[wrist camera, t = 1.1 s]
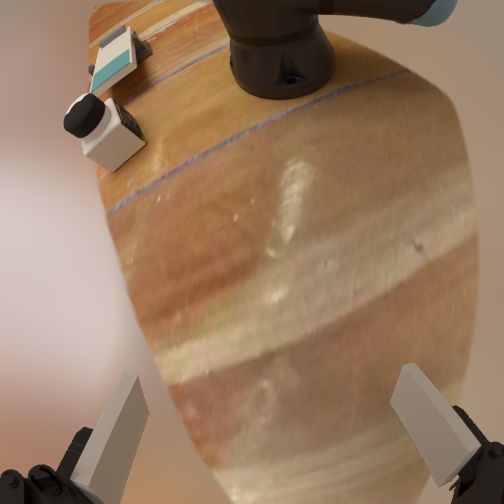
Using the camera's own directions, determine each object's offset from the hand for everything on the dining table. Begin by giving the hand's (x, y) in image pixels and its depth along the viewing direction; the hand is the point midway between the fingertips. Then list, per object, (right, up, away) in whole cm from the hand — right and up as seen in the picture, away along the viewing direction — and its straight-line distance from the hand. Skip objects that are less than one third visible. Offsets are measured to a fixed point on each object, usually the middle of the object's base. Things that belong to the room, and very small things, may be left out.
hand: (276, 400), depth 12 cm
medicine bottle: (-21, +24, +27) cm, 42 cm away
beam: (-28, +46, +28) cm, 61 cm away
